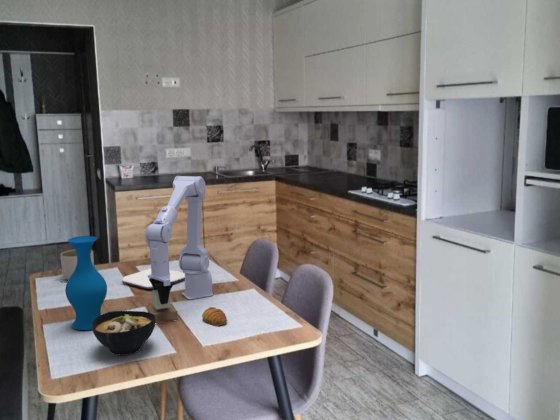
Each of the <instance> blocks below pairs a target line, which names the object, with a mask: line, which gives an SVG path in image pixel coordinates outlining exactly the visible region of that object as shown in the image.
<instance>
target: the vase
mask: <svg viewBox="0 0 560 420" xmlns="http://www.w3.org/2000/svg"><path fill="white" fill-rule="evenodd" d="M97 240H98V237H97V236H92V235H83V236H74V237H71V238H68V239H67V242H68V243H69V244H71V246H72V247H73V248H74V249H75V250H76V252H77V265H76V268H75V270H74V272H73V274H72V275H71V277H70V278H69V280H67V282H66V285H65V291H64V292H65V295H66V296H65V297H66V298H67V301H68V303H69V304H70V305H71V306H72V309H73V310H74V313H75V320H73V323H72V328H73V329H75V330H79V331H91V330H92V331H93V329H92V322H93V320H94V319H95V318H96V317H98V316H100V315H102V312H101V311H102V306H103V304H104V302H105V299H106V298H107V292H108V284H107V282H106V280H105V278H104V276H102V274H101V273H100V272H99V271H98V270H97V269H96V268H95V265H94V266H93V264H92V261H91V250H92V248H93V245H94V244H95V242H96V241H97Z"/></svg>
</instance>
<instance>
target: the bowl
mask: <svg viewBox="0 0 560 420" xmlns="http://www.w3.org/2000/svg"><path fill="white" fill-rule="evenodd" d="M155 322H156V320H155V315H154V314H152V313H148V311H147V312H146V311H139V310H115V311H114V310H113V311H108V312H105V313H101V315H100V316H98V317H96V318H95V319H94V320H93V322H92V332H93V334H94V336H95V338H96V340H97V341H98V342H99V343H100V344H101V345H102V346H103V347H105V348H106V349H108V350H109V351H110V353H111V354H112V355H115V356H128V355H132V354H135V353H137V352H140V351H141V349H142V347H143V345H144V344H145V343H146V342H147V341H148V340H149V338H150V337H151V336H152V334H153V331H154V329H155V327H156V324H155Z"/></svg>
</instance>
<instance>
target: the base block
mask: <svg viewBox="0 0 560 420" xmlns="http://www.w3.org/2000/svg"><path fill="white" fill-rule="evenodd" d="M147 312H148V313H152V314H154V315H155V320H156V322H155V323H159V324H162V323H161V322H165V323H169V322H168V321H171V322H175V321H174V320H178V310H177V309H176V307H175V306H174V304H173V303H171V302H170V307H168V308H162V309H156V308H155V307H154V306H153V305H151V306H147Z"/></svg>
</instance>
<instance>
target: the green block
mask: <svg viewBox="0 0 560 420" xmlns="http://www.w3.org/2000/svg"><path fill="white" fill-rule="evenodd" d="M151 294H152V295H151V297H152V306H154V307H155V308H156V309H162V308H168V307H170V304H171V293H170V294H169V299H168V303H167V304H161V303H160V299H159V294H158V291H157V290H154V289H152V290H151Z"/></svg>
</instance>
